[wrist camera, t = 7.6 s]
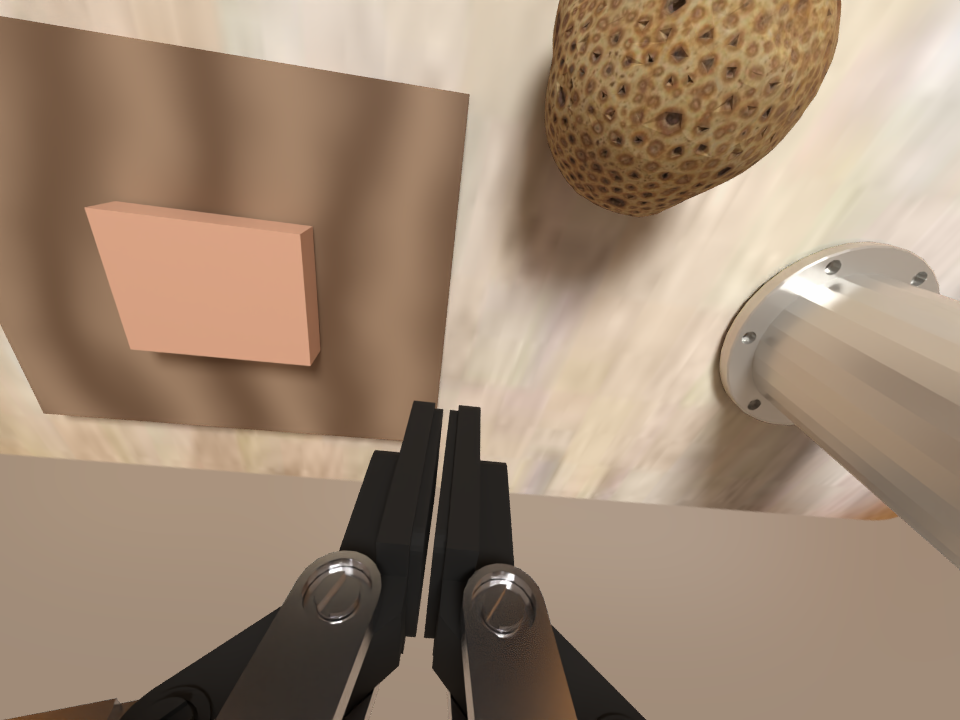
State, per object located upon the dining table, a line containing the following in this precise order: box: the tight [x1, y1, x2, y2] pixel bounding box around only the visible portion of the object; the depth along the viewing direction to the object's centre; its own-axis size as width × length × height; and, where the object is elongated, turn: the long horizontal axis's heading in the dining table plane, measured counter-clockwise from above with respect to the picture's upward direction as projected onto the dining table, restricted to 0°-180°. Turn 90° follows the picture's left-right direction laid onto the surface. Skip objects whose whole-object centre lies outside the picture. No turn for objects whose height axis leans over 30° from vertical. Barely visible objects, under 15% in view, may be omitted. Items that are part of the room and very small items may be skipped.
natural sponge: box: [544, 0, 841, 217], centre depth 15 cm, size 9×9×10 cm
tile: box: [84, 201, 321, 366], centre depth 20 cm, size 2×7×9 cm
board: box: [0, 16, 469, 441], centre depth 22 cm, size 24×20×2 cm
